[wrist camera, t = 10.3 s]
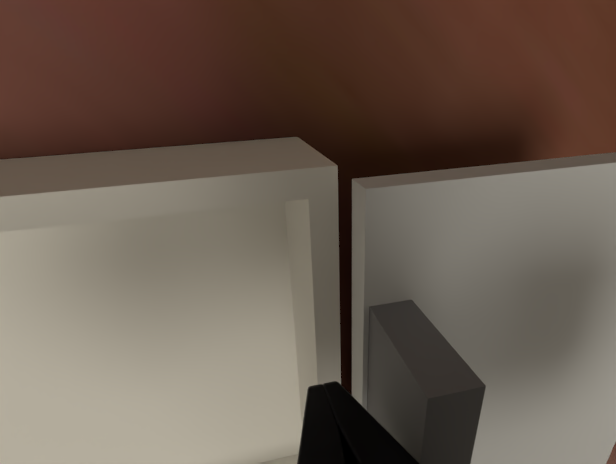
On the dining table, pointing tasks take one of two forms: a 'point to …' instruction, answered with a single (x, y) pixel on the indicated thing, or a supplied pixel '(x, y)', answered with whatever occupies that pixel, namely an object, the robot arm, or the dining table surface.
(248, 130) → the dining table surface
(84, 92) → the dining table surface
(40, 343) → the carton
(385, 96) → the dining table surface
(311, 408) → the robot arm
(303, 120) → the dining table surface
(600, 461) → the flap
